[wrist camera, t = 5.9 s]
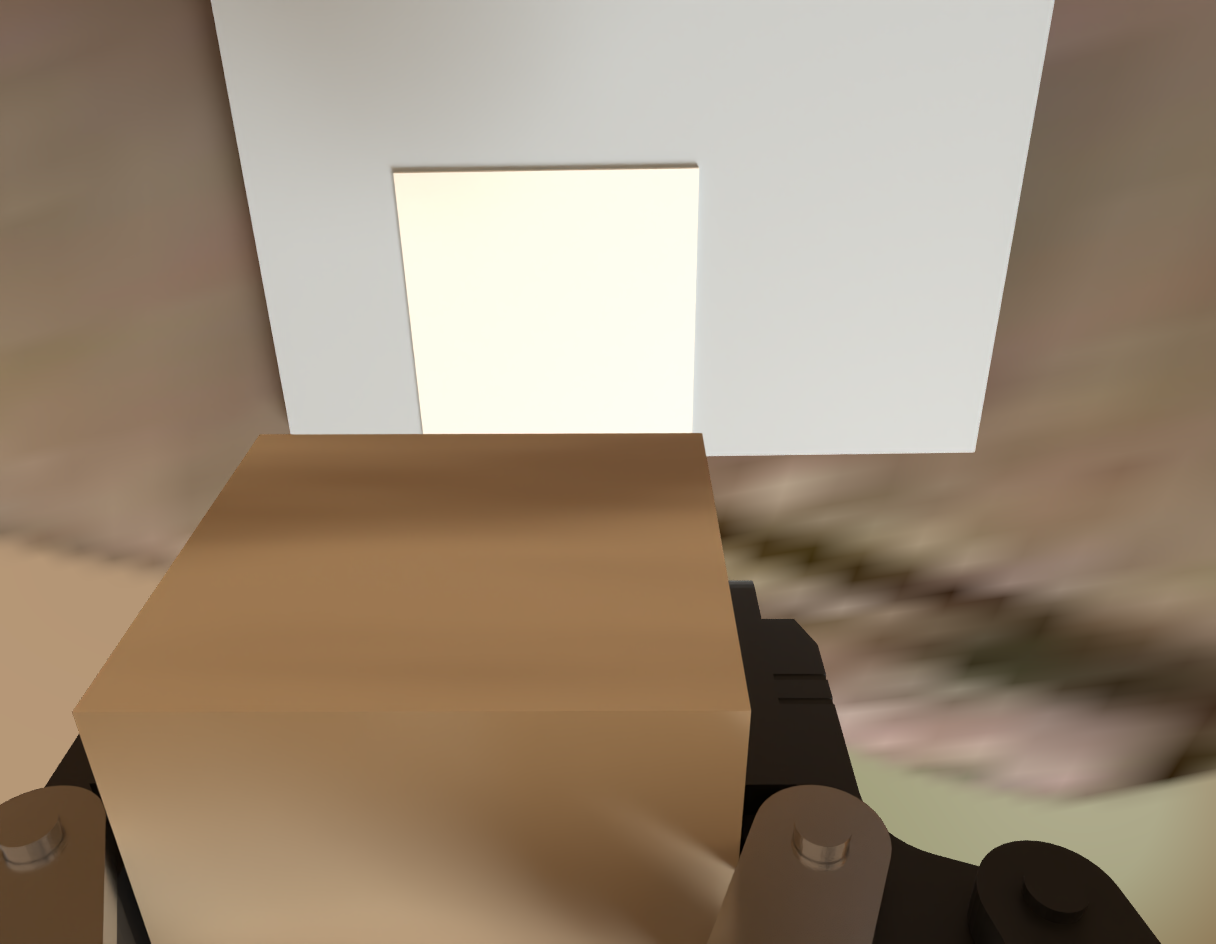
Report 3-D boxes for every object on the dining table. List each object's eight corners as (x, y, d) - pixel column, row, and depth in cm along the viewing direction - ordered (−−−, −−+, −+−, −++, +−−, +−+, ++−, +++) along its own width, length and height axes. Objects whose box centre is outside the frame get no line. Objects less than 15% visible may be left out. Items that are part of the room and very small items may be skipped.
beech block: (259, 434, 13) (72, 712, 8) (702, 433, 13) (751, 709, 8) (321, 760, 15) (205, 1103, 11) (687, 760, 15) (718, 1102, 11)
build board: (221, -47, 22) (199, -45, 21) (1043, -61, 22) (1068, -61, 21) (307, 441, 28) (294, 464, 27) (960, 432, 28) (976, 454, 27)
